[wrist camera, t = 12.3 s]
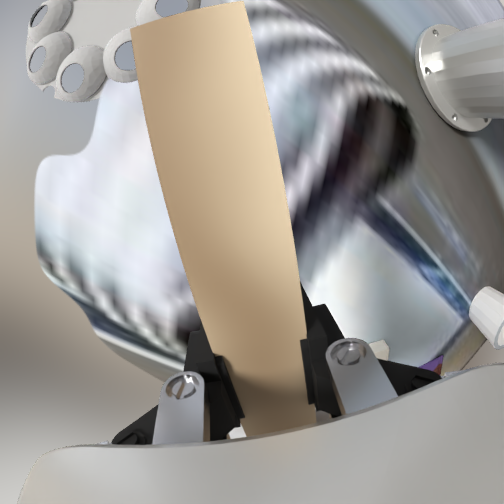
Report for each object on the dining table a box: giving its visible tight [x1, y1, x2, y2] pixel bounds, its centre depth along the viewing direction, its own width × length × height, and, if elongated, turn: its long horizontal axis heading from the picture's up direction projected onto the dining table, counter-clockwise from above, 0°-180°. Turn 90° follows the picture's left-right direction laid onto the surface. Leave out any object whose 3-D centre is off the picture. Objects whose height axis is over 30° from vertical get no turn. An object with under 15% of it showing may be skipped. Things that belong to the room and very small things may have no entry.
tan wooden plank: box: [130, 1, 330, 439], centre depth 10 cm, size 7×19×4 cm, turn 11°
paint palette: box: [26, 0, 201, 102], centre depth 17 cm, size 20×20×2 cm
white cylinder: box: [469, 286, 504, 350], centre depth 29 cm, size 7×7×7 cm
